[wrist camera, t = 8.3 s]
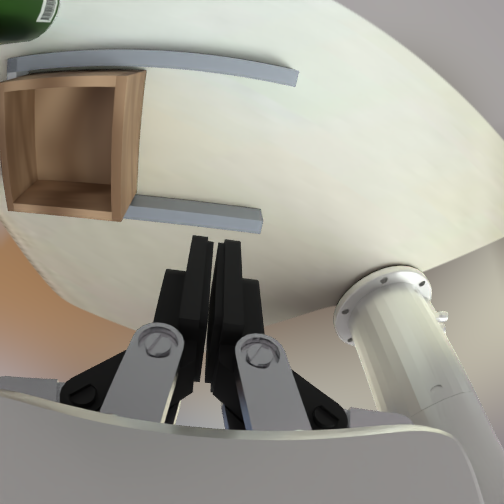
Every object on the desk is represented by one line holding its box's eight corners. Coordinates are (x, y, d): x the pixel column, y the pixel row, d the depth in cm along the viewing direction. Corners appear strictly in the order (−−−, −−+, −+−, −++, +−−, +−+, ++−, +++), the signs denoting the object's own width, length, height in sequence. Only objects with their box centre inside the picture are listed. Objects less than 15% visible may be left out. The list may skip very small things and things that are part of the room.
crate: (146, 70, 20) (127, 76, 16) (136, 191, 25) (121, 221, 21) (32, 73, 18) (-3, 83, 14) (35, 183, 24) (8, 210, 20)
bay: (293, 69, 21) (299, 70, 19) (257, 221, 28) (260, 233, 27) (21, 56, 17) (7, 58, 15) (25, 197, 24) (15, 207, 23)
